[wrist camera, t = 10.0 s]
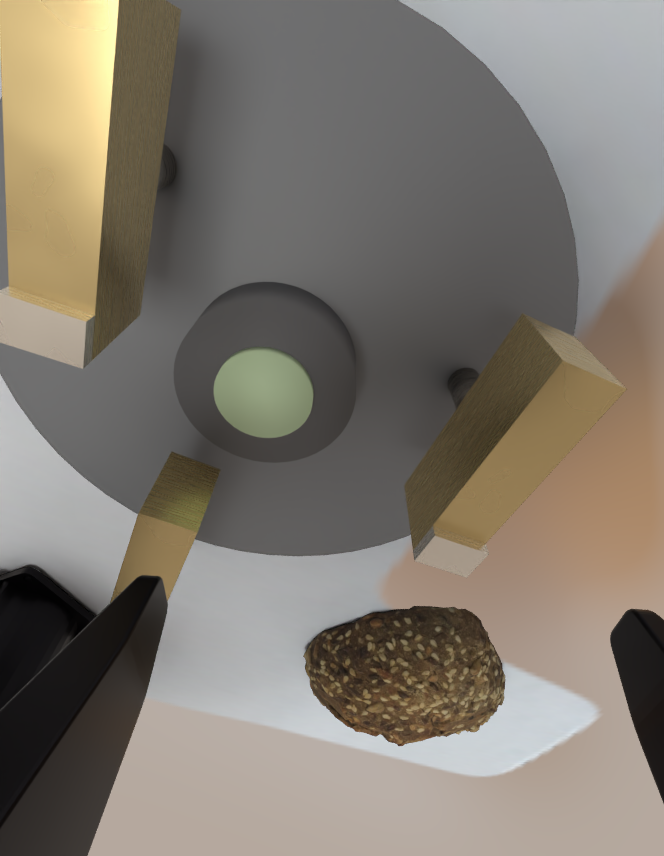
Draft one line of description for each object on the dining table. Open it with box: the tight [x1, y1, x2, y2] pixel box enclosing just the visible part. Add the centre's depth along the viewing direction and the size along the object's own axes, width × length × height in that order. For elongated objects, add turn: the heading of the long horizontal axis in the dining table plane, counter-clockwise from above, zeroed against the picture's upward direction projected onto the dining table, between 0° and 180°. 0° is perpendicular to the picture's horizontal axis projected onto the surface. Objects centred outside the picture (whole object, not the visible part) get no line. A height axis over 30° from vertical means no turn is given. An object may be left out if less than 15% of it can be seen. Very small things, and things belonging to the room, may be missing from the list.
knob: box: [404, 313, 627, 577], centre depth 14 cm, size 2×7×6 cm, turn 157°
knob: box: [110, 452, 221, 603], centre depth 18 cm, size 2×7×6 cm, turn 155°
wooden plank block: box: [0, 0, 181, 369], centre depth 11 cm, size 2×7×6 cm, turn 160°
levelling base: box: [0, 0, 578, 556], centre depth 16 cm, size 21×21×4 cm
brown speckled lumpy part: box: [303, 606, 505, 746], centre depth 28 cm, size 13×12×5 cm
